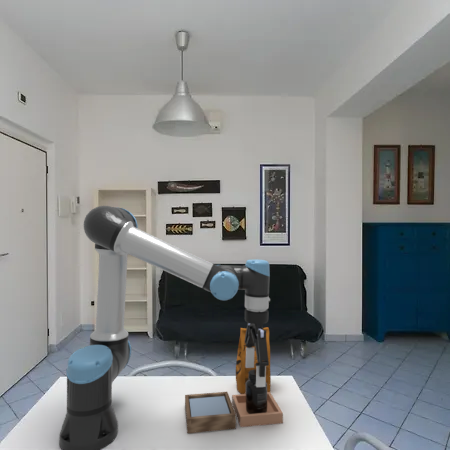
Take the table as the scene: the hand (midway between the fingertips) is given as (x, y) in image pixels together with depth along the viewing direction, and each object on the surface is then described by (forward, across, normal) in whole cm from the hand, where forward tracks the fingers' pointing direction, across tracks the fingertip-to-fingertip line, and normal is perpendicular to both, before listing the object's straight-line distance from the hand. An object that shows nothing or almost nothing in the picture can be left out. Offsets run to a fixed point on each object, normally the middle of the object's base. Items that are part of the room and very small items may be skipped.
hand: (254, 376), depth 106 cm
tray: (+12, 0, -1) cm, 12 cm away
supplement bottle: (+11, 0, -1) cm, 11 cm away
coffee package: (+12, +16, -4) cm, 20 cm away
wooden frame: (+12, 0, +14) cm, 19 cm away
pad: (+10, 0, +14) cm, 17 cm away
